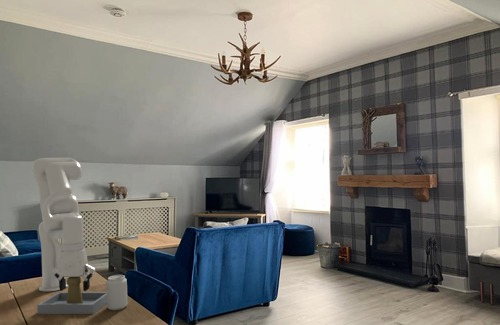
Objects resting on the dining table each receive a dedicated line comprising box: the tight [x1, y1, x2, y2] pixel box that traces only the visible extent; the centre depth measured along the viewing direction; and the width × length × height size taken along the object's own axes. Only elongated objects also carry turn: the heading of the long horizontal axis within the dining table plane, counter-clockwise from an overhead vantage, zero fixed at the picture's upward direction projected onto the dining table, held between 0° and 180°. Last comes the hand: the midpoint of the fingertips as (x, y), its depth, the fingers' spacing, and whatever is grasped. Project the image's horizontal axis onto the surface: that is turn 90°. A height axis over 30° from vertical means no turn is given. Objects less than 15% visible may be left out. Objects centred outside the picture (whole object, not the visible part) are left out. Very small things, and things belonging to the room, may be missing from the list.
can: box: [105, 274, 128, 311], centre depth 148 cm, size 8×8×12 cm
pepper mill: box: [66, 277, 83, 304], centre depth 150 cm, size 6×6×11 cm
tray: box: [37, 291, 107, 315], centre depth 150 cm, size 22×14×4 cm, turn 85°
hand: (74, 289), depth 150 cm, fingers open, 9 cm apart
